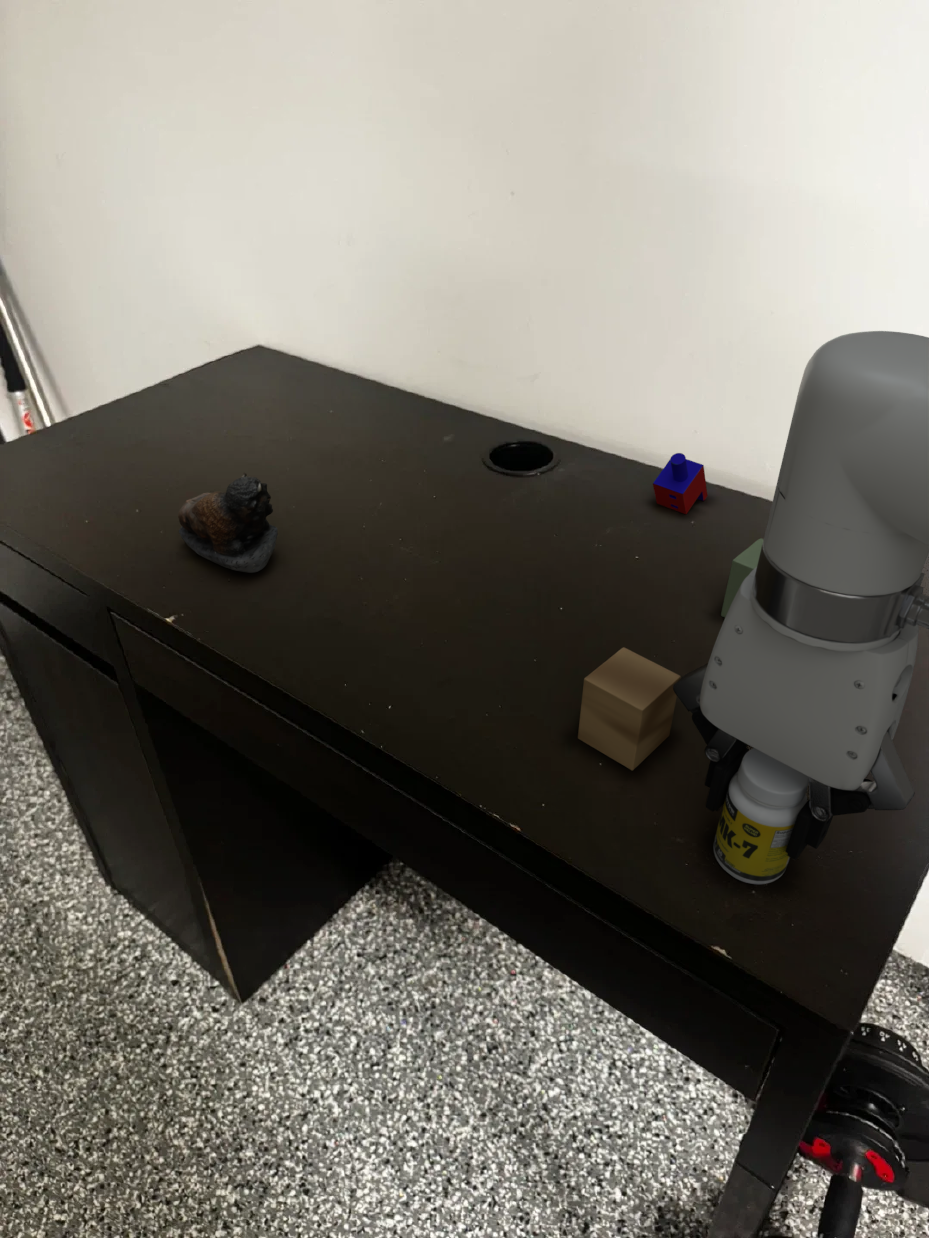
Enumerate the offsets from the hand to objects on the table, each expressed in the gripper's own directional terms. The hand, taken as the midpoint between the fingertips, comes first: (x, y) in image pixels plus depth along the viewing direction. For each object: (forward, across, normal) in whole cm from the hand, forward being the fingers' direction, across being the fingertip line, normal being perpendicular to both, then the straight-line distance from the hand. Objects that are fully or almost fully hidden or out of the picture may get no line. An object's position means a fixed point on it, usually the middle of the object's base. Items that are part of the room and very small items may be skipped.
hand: (760, 818), depth 56 cm
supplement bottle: (+4, 0, 0) cm, 4 cm away
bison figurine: (+4, +55, +1) cm, 55 cm away
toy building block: (+4, +29, -37) cm, 47 cm away
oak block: (+4, +12, -4) cm, 14 cm away
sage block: (+4, +12, -25) cm, 28 cm away
